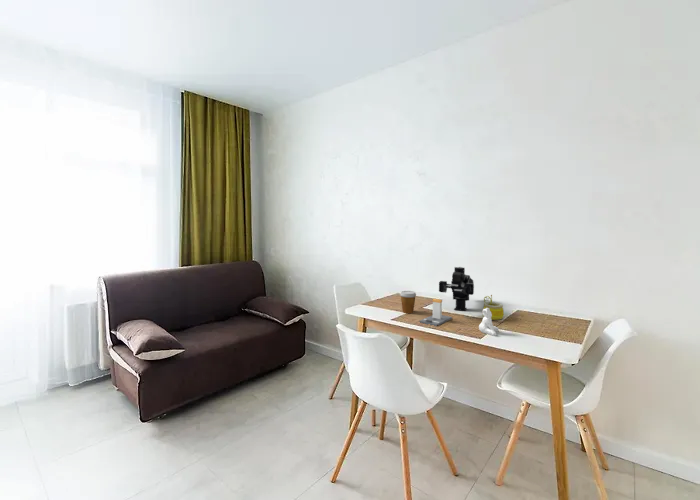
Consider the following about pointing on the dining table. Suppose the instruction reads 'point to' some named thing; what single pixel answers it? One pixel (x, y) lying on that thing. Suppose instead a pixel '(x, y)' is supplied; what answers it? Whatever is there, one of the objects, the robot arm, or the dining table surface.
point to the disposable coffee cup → (408, 301)
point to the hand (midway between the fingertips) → (453, 290)
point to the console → (435, 320)
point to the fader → (437, 308)
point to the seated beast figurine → (488, 323)
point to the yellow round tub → (494, 309)
